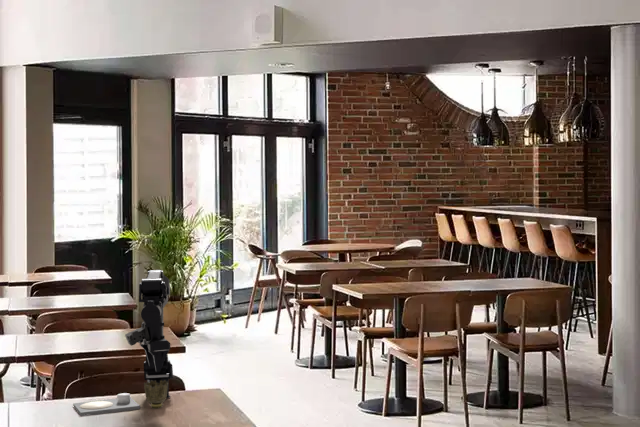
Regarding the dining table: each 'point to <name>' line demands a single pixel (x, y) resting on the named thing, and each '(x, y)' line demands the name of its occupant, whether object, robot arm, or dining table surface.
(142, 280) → the robot arm
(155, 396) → the cup
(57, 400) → the dining table surface
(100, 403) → the carrier plate
